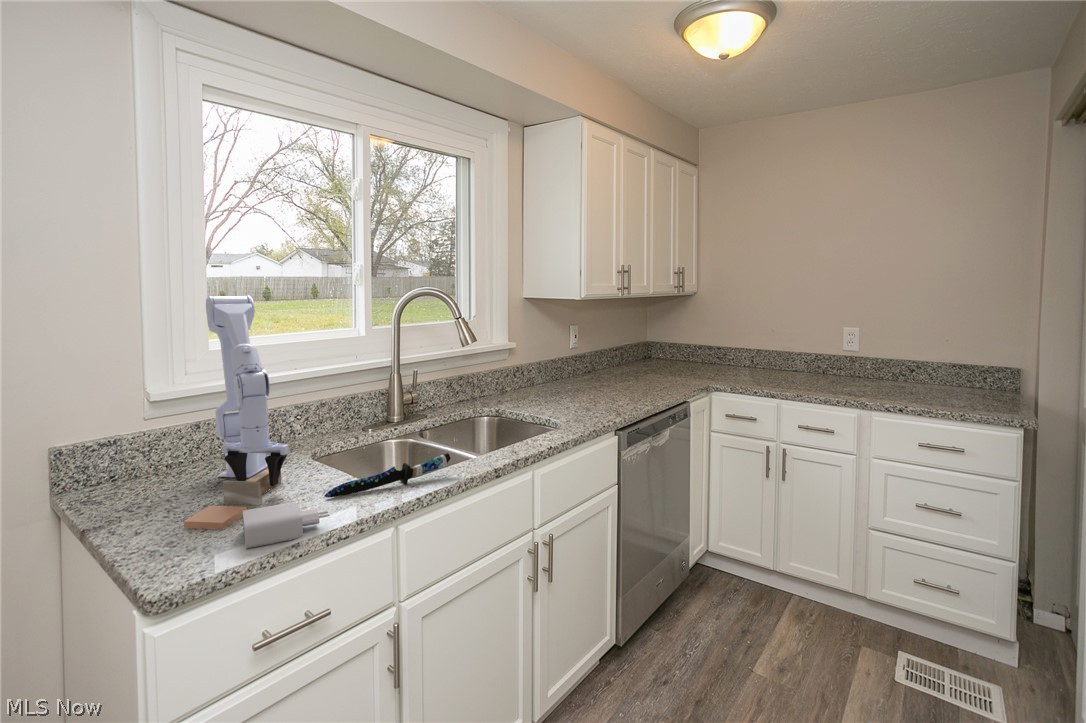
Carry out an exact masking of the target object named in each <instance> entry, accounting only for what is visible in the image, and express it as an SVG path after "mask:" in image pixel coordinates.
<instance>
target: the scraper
mask: <svg viewBox="0 0 1086 723" xmlns="http://www.w3.org/2000/svg"><path fill="white" fill-rule="evenodd" d="M281 482H282V470H281V471H280V475H279V480H278V485H280V484H281ZM279 483H280V484H279ZM276 485H277V484H276ZM276 485H275V487H277V486H278V485H277V486H276ZM273 487H274V486H270V481H269V471H268V467H267V468H265V469H263V470H262V471H260V472H258V473H256V474H255V475H253V476H251V477H249V478H247V479H246V481H237V480H223V481H222V489H223V490H222V491H223V504H224V503H229V504H228V505H244V504H251V506H260V505H262V496H263V495H264V494H266V493H267V492H269V491H270V490H269V489H271V488H272V489H273ZM275 487H274V488H275ZM272 489H271V490H272ZM268 490H269V491H268ZM266 491H267V492H266ZM265 492H266V493H265ZM263 493H264V494H263ZM262 494H263V495H262Z"/></svg>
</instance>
